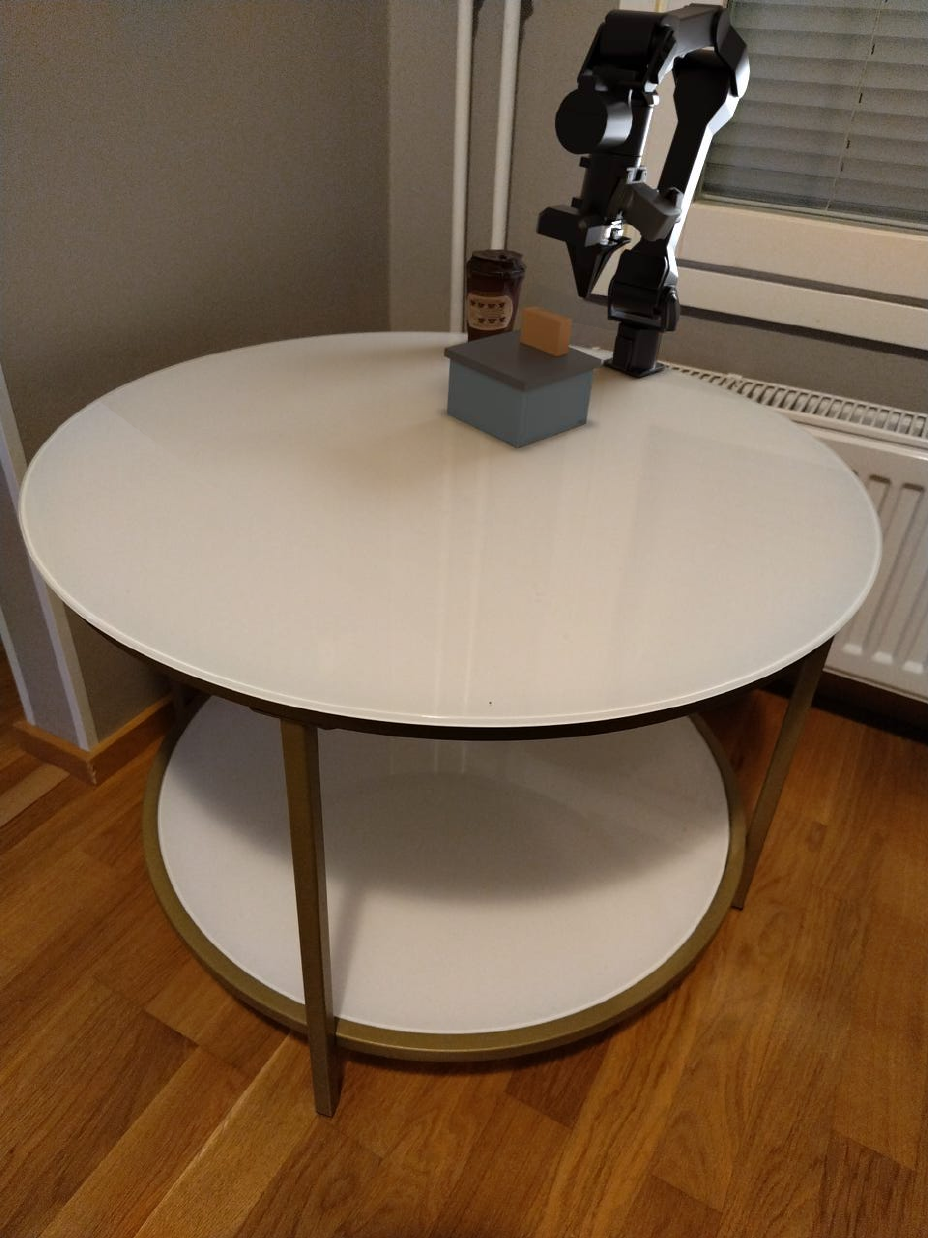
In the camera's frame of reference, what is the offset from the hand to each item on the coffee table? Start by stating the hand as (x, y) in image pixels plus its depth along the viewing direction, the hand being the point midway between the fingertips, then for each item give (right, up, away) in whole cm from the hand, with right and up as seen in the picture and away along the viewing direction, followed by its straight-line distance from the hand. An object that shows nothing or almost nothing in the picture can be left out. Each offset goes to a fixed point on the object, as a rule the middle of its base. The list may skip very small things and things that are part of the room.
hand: (583, 296), depth 103 cm
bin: (-8, -14, +2) cm, 16 cm away
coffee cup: (-11, +1, +22) cm, 24 cm away
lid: (-7, -8, -2) cm, 12 cm away
